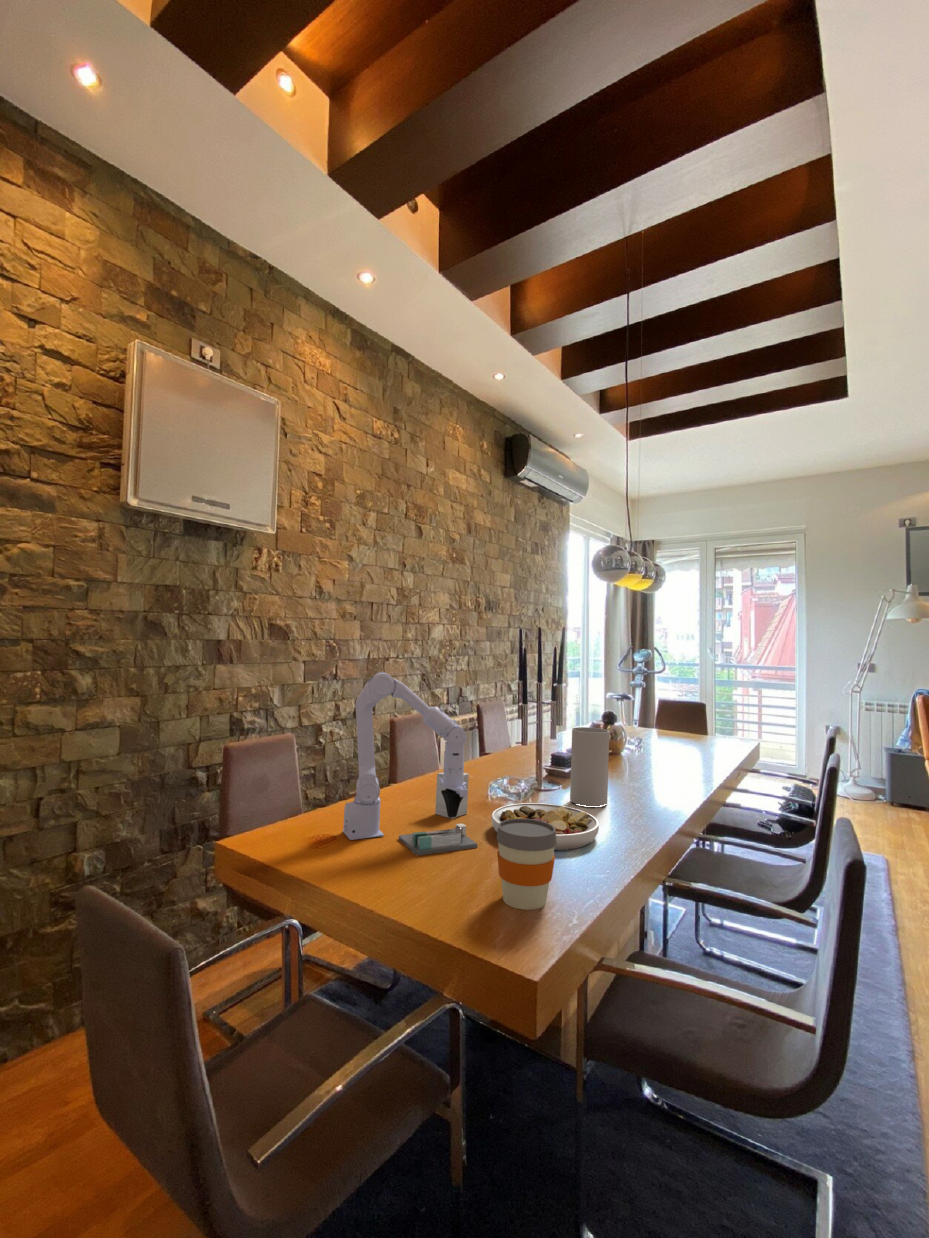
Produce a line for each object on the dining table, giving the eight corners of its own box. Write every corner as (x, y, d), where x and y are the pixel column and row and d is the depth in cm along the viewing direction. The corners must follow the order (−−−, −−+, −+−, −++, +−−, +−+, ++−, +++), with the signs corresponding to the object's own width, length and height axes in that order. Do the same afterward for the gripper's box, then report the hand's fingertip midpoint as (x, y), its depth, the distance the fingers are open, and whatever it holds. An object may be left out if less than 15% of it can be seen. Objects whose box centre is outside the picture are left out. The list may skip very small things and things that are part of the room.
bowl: (499, 815, 181) (500, 789, 181) (597, 824, 175) (598, 798, 175) (482, 847, 152) (483, 817, 152) (599, 860, 145) (600, 828, 146)
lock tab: (459, 835, 155) (459, 826, 155) (455, 832, 157) (455, 824, 157) (466, 834, 156) (466, 825, 156) (462, 832, 158) (462, 823, 158)
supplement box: (453, 819, 174) (454, 777, 174) (434, 814, 178) (436, 772, 179) (467, 814, 180) (469, 773, 180) (449, 809, 184) (450, 769, 185)
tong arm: (413, 846, 146) (414, 834, 146) (412, 844, 147) (412, 832, 147) (452, 841, 150) (452, 830, 150) (450, 839, 152) (450, 828, 152)
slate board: (416, 855, 143) (416, 851, 143) (398, 839, 155) (398, 835, 155) (477, 847, 150) (477, 843, 150) (455, 832, 162) (456, 828, 162)
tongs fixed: (419, 850, 144) (419, 835, 144) (414, 845, 147) (415, 831, 147) (465, 844, 150) (466, 830, 150) (460, 839, 153) (460, 826, 153)
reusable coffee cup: (567, 904, 119) (569, 830, 120) (521, 919, 112) (524, 841, 112) (527, 882, 129) (529, 814, 130) (482, 895, 122) (484, 823, 123)
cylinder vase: (562, 802, 198) (564, 728, 199) (584, 796, 206) (586, 726, 207) (593, 810, 189) (595, 733, 190) (614, 804, 197) (616, 731, 198)
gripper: (478, 772, 158) (476, 822, 157) (455, 761, 171) (454, 808, 170) (454, 774, 155) (453, 825, 154) (433, 763, 168) (432, 810, 167)
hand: (452, 816), depth 162 cm, fingers closed
